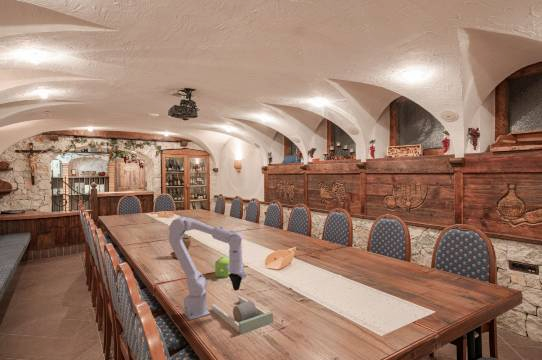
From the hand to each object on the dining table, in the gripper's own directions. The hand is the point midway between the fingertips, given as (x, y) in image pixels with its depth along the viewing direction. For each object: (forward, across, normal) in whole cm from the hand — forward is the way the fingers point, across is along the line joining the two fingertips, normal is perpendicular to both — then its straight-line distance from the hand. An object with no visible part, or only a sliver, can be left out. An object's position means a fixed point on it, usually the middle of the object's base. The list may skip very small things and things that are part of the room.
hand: (236, 289), depth 139 cm
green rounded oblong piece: (+11, +49, -20) cm, 54 cm away
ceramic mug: (+11, -10, +1) cm, 15 cm away
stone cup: (+11, +107, -13) cm, 108 cm away
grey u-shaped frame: (+10, -3, 0) cm, 11 cm away
